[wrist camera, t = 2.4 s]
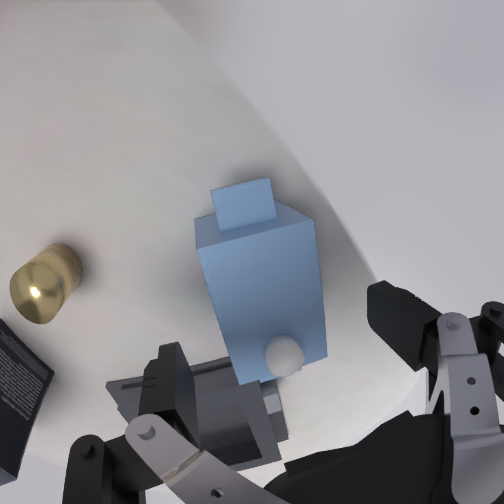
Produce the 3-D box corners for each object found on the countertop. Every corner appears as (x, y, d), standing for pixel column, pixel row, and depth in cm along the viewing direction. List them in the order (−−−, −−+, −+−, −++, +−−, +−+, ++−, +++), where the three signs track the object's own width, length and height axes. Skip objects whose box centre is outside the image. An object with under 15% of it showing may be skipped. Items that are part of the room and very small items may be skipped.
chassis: (106, 382, 17) (100, 408, 15) (266, 346, 19) (277, 371, 16) (168, 461, 21) (169, 482, 19) (287, 435, 23) (295, 456, 20)
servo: (186, 188, 15) (183, 208, 9) (267, 169, 15) (317, 177, 9) (230, 345, 18) (250, 419, 12) (295, 326, 19) (336, 391, 13)
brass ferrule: (34, 251, 14) (1, 276, 10) (71, 237, 14) (41, 261, 10) (52, 295, 15) (26, 328, 11) (89, 284, 15) (66, 318, 11)
